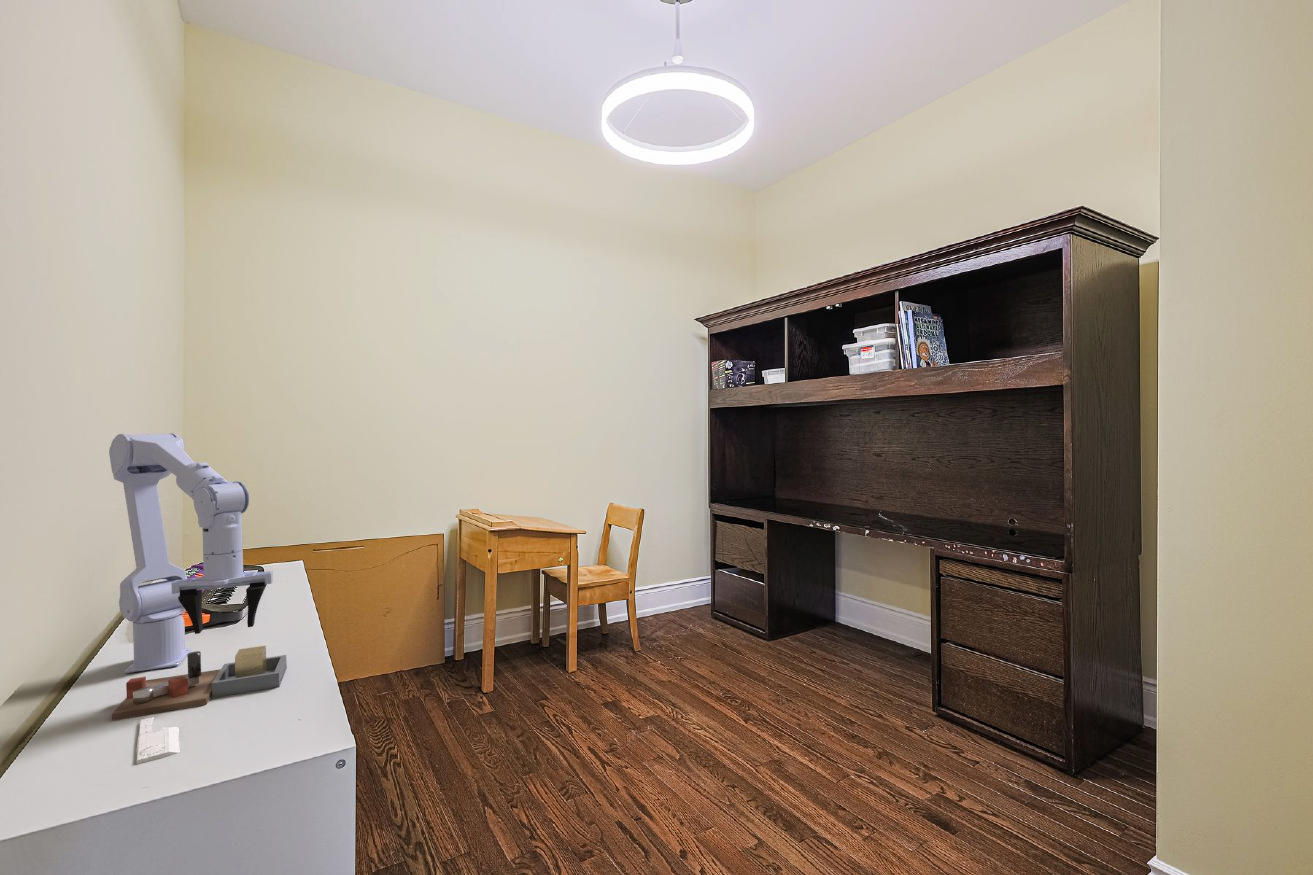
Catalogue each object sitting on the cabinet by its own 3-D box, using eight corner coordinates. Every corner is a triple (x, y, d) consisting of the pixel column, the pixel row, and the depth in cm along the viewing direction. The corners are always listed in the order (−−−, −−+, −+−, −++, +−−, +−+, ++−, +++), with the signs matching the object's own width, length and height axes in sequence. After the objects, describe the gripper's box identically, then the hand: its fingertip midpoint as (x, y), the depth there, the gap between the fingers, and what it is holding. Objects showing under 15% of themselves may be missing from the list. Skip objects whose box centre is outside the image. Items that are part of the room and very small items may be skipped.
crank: (197, 680, 107) (196, 650, 106) (204, 683, 105) (203, 652, 105) (130, 700, 99) (129, 667, 99) (136, 704, 97) (135, 671, 97)
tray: (224, 676, 111) (224, 663, 111) (286, 667, 115) (286, 654, 115) (212, 697, 102) (211, 683, 102) (279, 686, 106) (279, 672, 106)
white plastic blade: (182, 715, 97) (182, 708, 97) (183, 755, 85) (183, 746, 85) (139, 725, 94) (139, 718, 94) (135, 767, 82) (135, 758, 82)
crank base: (142, 686, 108) (142, 666, 108) (225, 673, 113) (225, 654, 112) (111, 720, 95) (111, 697, 95) (206, 704, 100) (205, 682, 100)
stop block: (240, 677, 110) (239, 649, 110) (266, 673, 112) (265, 645, 111) (235, 685, 106) (234, 656, 106) (263, 681, 108) (262, 652, 108)
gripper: (164, 560, 102) (167, 642, 102) (267, 551, 108) (269, 628, 108) (177, 552, 108) (179, 629, 108) (273, 544, 114) (275, 618, 115)
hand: (225, 628), depth 109 cm, fingers open, 7 cm apart
